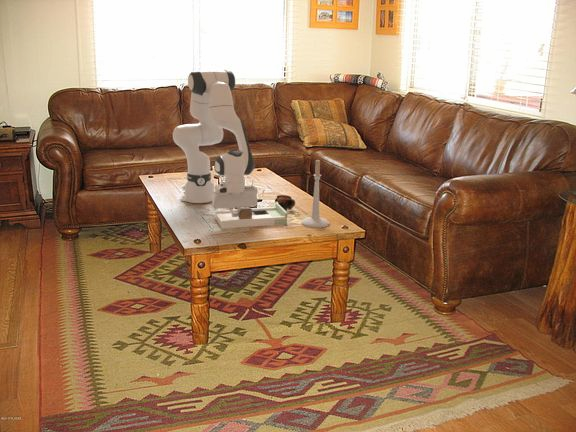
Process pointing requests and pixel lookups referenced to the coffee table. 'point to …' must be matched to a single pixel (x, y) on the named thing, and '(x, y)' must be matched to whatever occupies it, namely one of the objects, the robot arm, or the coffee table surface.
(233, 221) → the box
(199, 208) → the coffee table surface
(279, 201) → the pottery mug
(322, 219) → the candlestick
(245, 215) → the walnut block
